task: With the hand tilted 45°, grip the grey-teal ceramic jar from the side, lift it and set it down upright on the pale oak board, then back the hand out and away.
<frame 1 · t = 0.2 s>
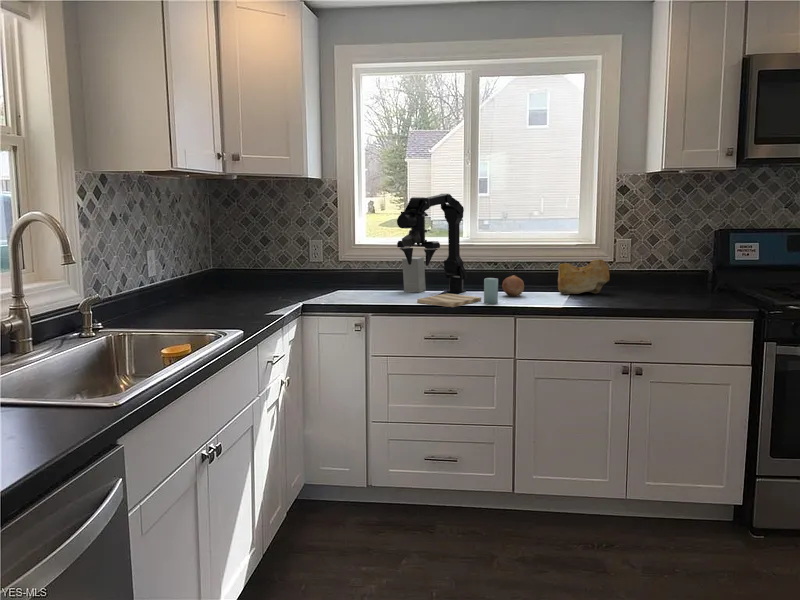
hand: (418, 265, 280), 15 cm above the worktop, fingers open, 9 cm apart
oak board: (449, 301, 276), on the worktop
onion: (513, 296, 291), on the worktop
rough brown rock: (579, 293, 299), on the worktop
ceramic jar: (490, 303, 272), on the worktop
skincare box: (414, 292, 305), on the worktop
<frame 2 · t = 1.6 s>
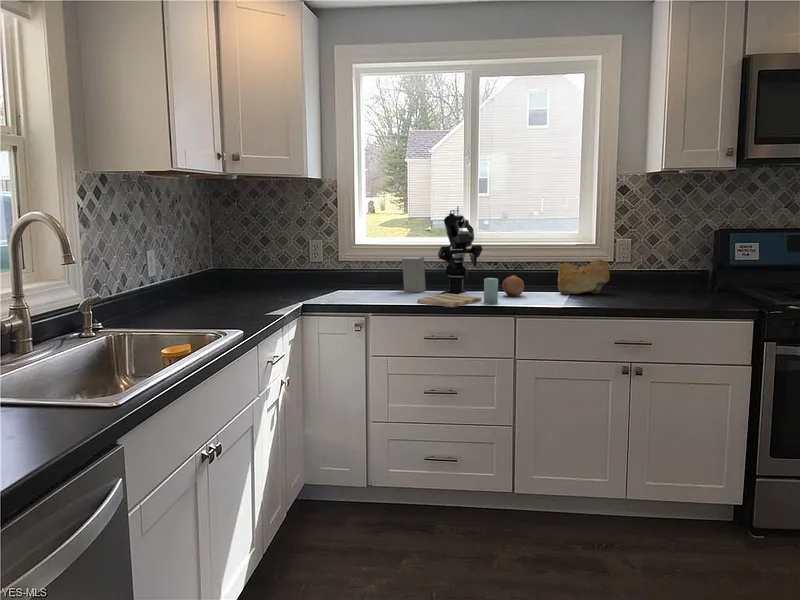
hand: (465, 267, 282), 13 cm above the worktop, fingers open, 9 cm apart
nothing on the worktop moved.
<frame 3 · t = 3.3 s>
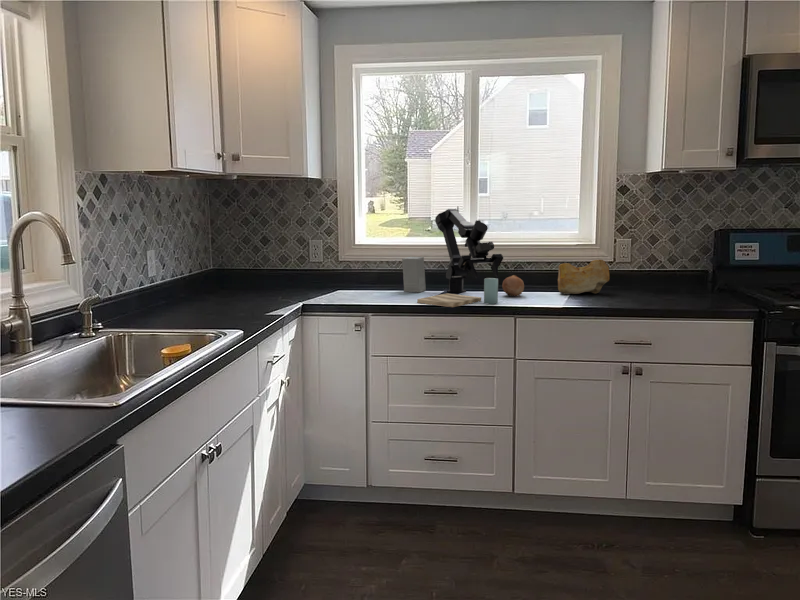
hand: (487, 276, 274), 10 cm above the worktop, fingers open, 9 cm apart
nothing on the worktop moved.
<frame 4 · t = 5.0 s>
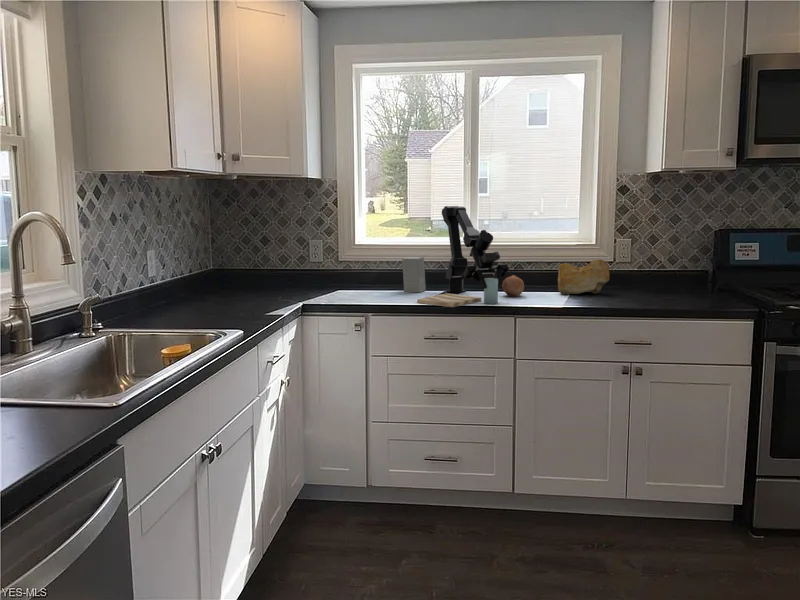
hand: (492, 287, 270), 7 cm above the worktop, fingers closed on ceramic jar, 6 cm apart
ceramic jar: (490, 303, 272), on the worktop, touching gripper
everything else where it was.
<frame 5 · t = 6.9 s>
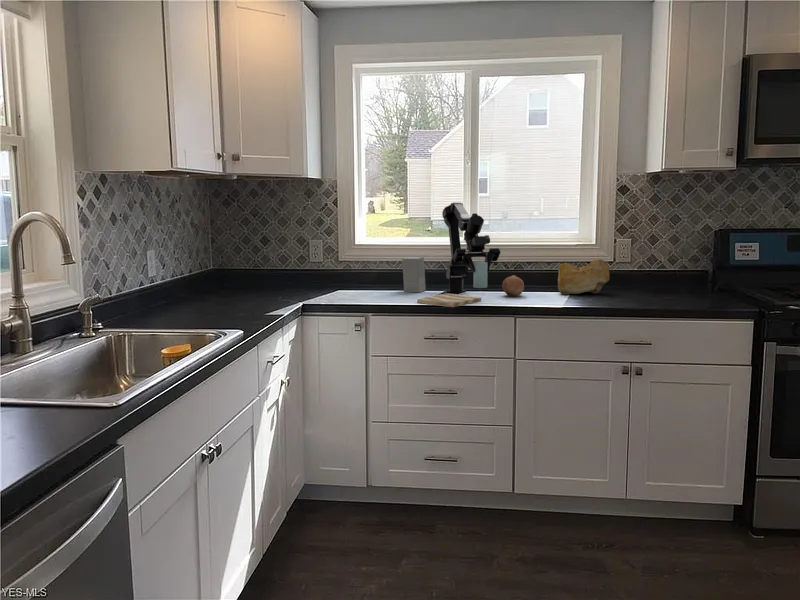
hand: (481, 271, 268), 13 cm above the worktop, fingers closed on ceramic jar, 6 cm apart
ceramic jar: (480, 287, 270), point 7 cm above the worktop, touching gripper
everything else where it was.
when the fingers open (9 cm above the worktop, at t = 9.1 s): ceramic jar drops 1 cm, resting on oak board.
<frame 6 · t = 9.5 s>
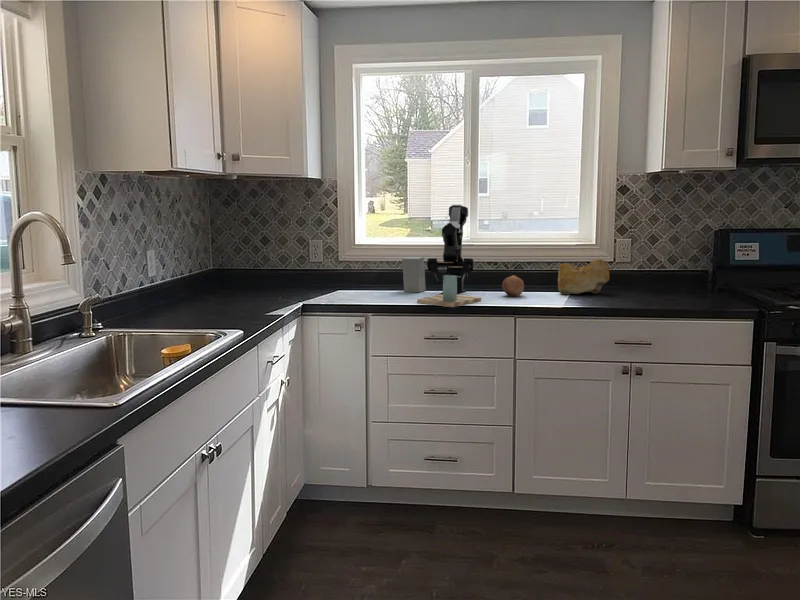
hand: (449, 281, 268), 10 cm above the worktop, fingers open, 9 cm apart
ceramic jar: (449, 300, 270), point 2 cm above the worktop, touching oak board
everything else where it was.
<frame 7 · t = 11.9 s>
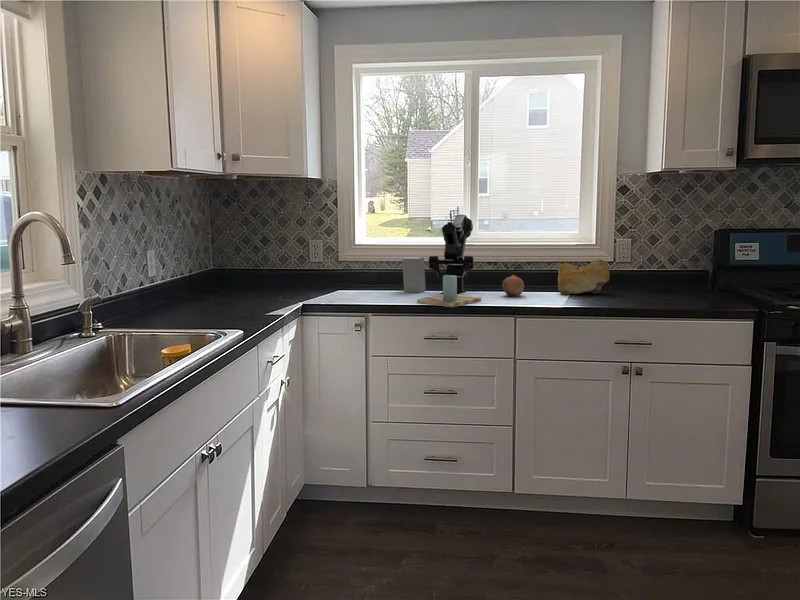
hand: (450, 278, 277), 10 cm above the worktop, fingers open, 9 cm apart
nothing on the worktop moved.
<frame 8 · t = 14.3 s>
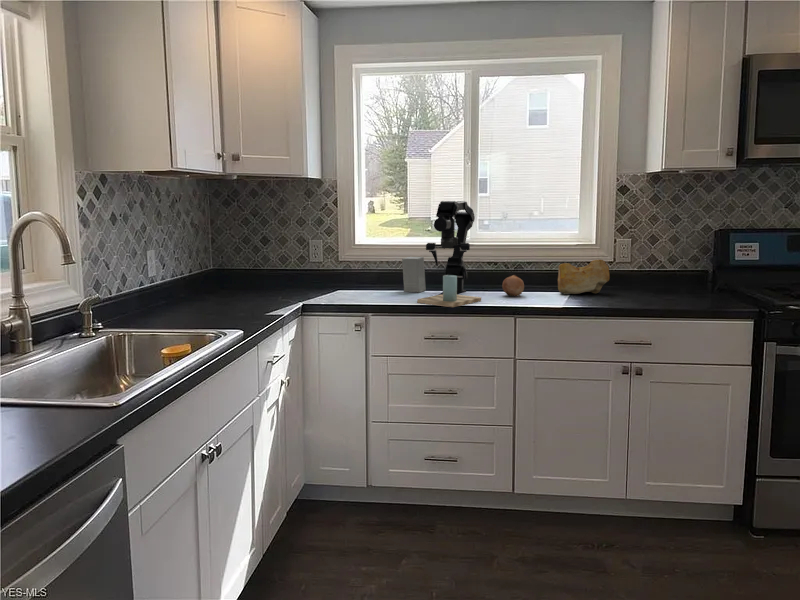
hand: (447, 266, 290), 13 cm above the worktop, fingers open, 9 cm apart
nothing on the worktop moved.
at the end: ceramic jar inside the target area on the oak board (0.1 cm from its centre), point 1.5 cm above the oak board's base; ceramic jar tilted 0°; the gripper is holding nothing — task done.
